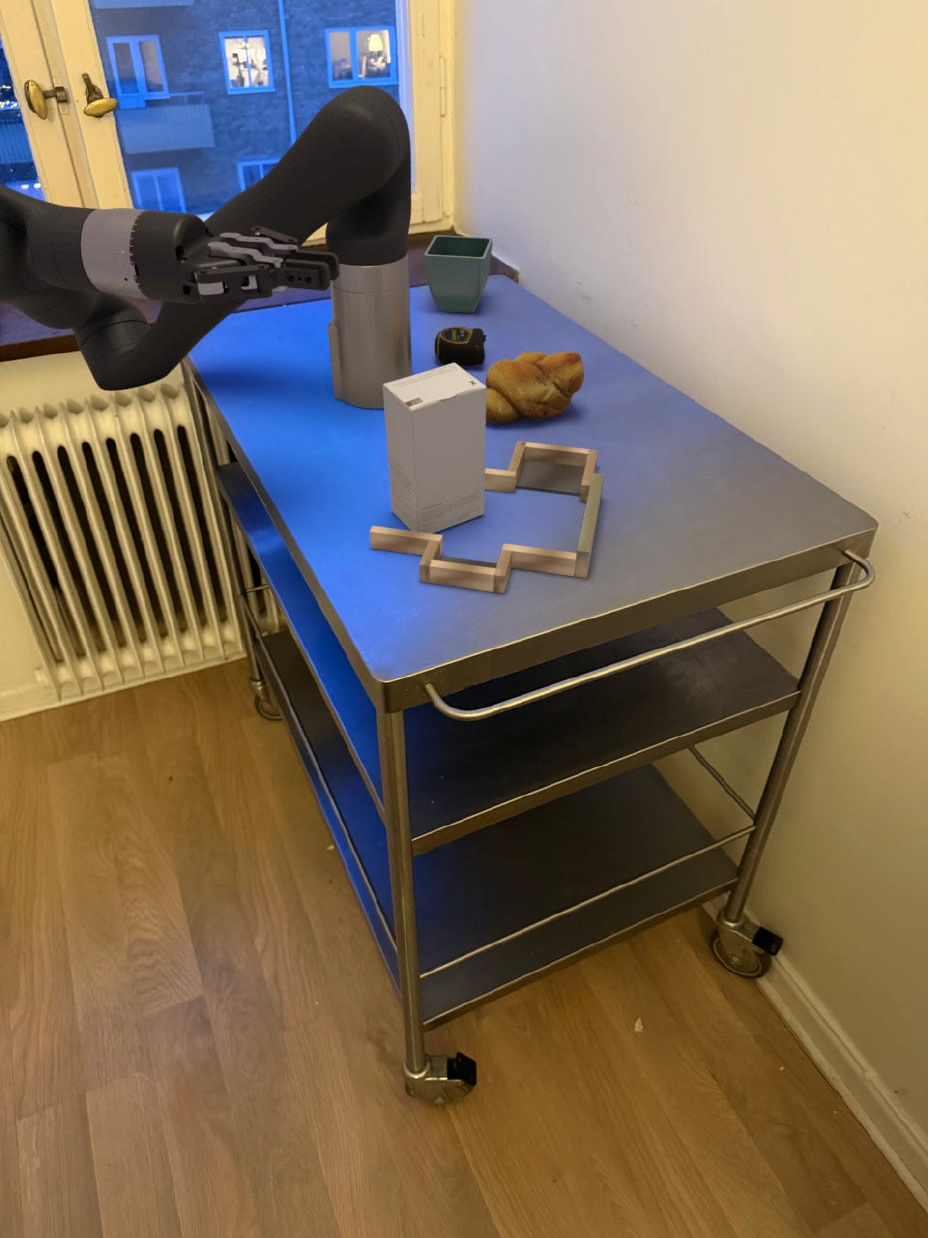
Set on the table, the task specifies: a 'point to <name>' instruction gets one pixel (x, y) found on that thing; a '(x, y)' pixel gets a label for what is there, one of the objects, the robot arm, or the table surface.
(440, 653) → the table surface
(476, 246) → the flower pot
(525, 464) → the trap lane
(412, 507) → the skincare box
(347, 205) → the robot arm
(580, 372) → the bread roll
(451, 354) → the tape measure
